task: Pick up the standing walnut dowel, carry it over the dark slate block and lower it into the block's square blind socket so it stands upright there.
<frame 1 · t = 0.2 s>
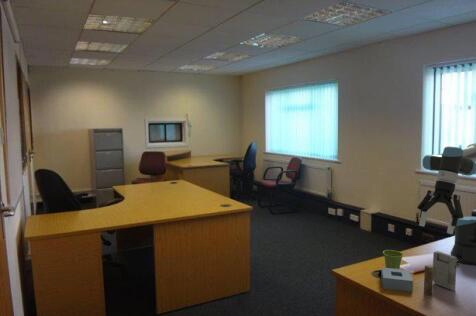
hand: (435, 229, 157), 28 cm above the table, tool tilted 15°, fingers open, 13 cm apart
pin: (427, 293, 157), on the table
bore block: (396, 284, 167), on the table
handheld gaming console: (443, 286, 164), on the table
plant pot: (392, 270, 183), on the table
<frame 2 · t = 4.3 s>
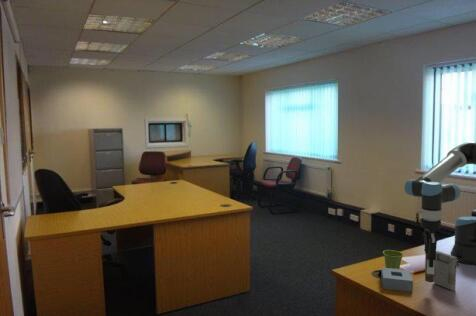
hand: (429, 271, 156), 10 cm above the table, tool pointing down, fingers closed on pin, 3 cm apart
pin: (429, 280, 157), point 6 cm above the table, touching gripper
everything else where it was.
when the fingers open (7 cm above the table, at t = 8.1 s): pin drops 1 cm, resting on bore block.
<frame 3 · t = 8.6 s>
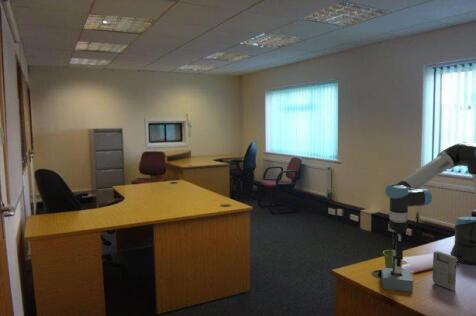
hand: (396, 268, 166), 8 cm above the table, tool pointing down, fingers open, 10 cm apart
pin: (396, 282, 166), point 1 cm above the table, touching bore block
everything else where it was.
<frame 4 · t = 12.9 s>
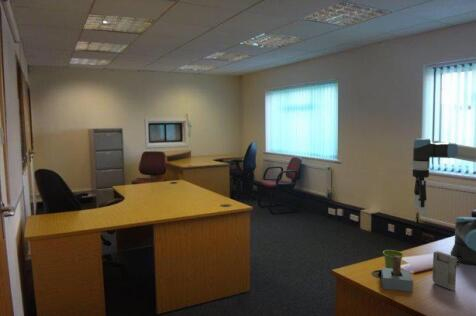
hand: (419, 210, 186), 29 cm above the table, tool pointing down, fingers open, 13 cm apart
nothing on the table moved.
at the end: pin 0.0 cm off-centre on the bore block, point 1.0 cm above the bore block's base; pin tilted 0°; the gripper is holding nothing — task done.
